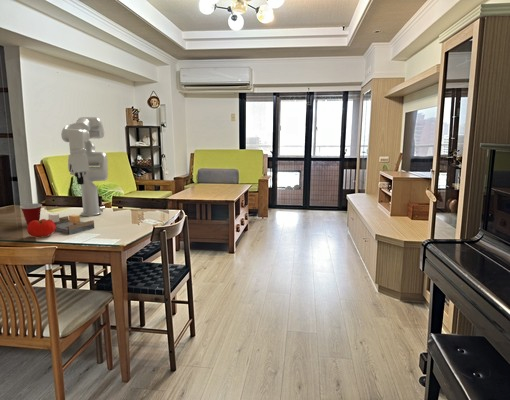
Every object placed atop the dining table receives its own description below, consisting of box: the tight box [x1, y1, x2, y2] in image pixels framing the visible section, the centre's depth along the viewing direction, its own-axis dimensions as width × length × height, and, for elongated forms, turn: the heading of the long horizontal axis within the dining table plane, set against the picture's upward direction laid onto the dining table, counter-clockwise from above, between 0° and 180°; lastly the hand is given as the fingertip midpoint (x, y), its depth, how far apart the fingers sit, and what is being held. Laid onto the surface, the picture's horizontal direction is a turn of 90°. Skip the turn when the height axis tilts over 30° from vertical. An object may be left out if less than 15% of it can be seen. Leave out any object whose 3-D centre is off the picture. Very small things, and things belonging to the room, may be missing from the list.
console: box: [54, 215, 95, 235], centre depth 194 cm, size 15×24×4 cm, turn 61°
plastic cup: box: [19, 203, 43, 226], centre depth 201 cm, size 11×11×12 cm
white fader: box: [47, 212, 60, 224], centre depth 194 cm, size 3×5×5 cm, turn 61°
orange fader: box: [68, 214, 81, 225], centre depth 190 cm, size 3×5×5 cm, turn 61°
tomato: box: [26, 218, 56, 239], centre depth 179 cm, size 14×13×9 cm
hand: (80, 184), depth 198 cm, fingers closed
